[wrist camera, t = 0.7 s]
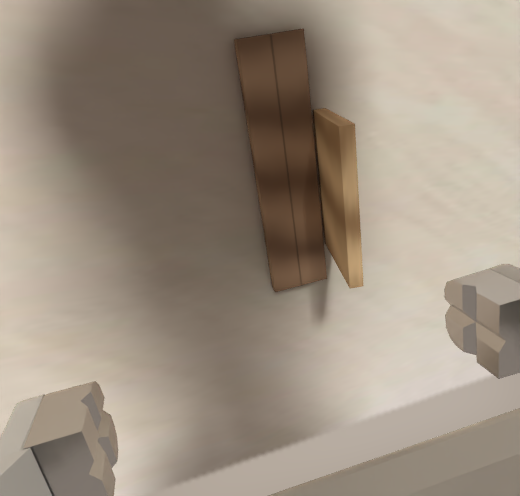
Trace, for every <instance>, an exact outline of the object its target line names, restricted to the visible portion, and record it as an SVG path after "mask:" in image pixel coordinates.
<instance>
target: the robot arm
mask: <svg viewBox="0 0 520 496" xmlns="http://www.w3.org/2000/svg"><path fill="white" fill-rule="evenodd" d="M444 292H445V300H446V301H447V302H448V303H449V304H450V307H449V309H448V311H447V313H446V315H445V319H446V329H447V331H448V333H449V336H450V338H451V340H452V341H453V342H454V344H455V345H456V346H457V347H458V348H459V349H461V350H462V351H463V352H466V353H470V354H474V355H476V358H477V363H479V364H480V365H481V366H483V367H484V368H485V369H486V370H488V371H489V372H490V373H492V374H493V375H494V376H496V377H497V378H498V379H500V378H503V377H506V376H510V375H513V374H517V373H520V268H517V267H515V266H513V265H510V264H501V265H498V266H495V267H492V268H489V269H486V270H483V271H480V272H476V273H473V274H470V275H467V276H464V277H460V278H457V279H454V280H451V281H448V282H447V283H446V286H445V289H444ZM103 405H104V395H103V393H102V390H101V388H100V385H99V384H98V383H97V382H96V381H94V382H90V383H87V384H83V385H79V386H75V387H71V388H68V389H64V390H60V391H56V392H53V393H49V394H46V395H40V396H37V397H34V398H30V399H27V400H24V401H21V402H19V403H17V404H16V406H15V408H14V410H13V412H12V414H11V416H10V418H9V420H8V422H7V425H6V427H5V429H4V431H3V433H2V435H1V437H0V496H114V489H115V480H116V479H115V476H114V473H113V471H112V467H113V466H114V465H115V464H116V462H117V459H118V442H117V434H116V430H115V426H114V423H113V420H112V417H111V415H110V414H108V413H106V412H105V411H103ZM269 496H520V408H518V409H515V410H513V411H510V412H507V413H504V414H501V415H498V416H496V417H493V418H490V419H487V420H484V421H481V422H478V423H476V424H473V425H470V426H467V427H464V428H461V429H458V430H456V431H453V432H450V433H447V434H444V435H441V436H438V437H435V438H432V439H430V440H427V441H424V442H421V443H418V444H415V445H412V446H410V447H407V448H404V449H401V450H398V451H395V452H392V453H389V454H386V455H384V456H381V457H378V458H375V459H372V460H369V461H367V462H363V463H361V464H358V465H355V466H352V467H349V468H346V469H344V470H341V471H338V472H335V473H332V474H329V475H326V476H324V477H320V478H318V479H315V480H312V481H309V482H307V483H304V484H300V485H298V486H295V487H292V488H289V489H286V490H283V491H280V492H278V493H275V494H272V495H269Z"/></svg>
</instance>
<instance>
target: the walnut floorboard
mask: <svg viewBox="0 0 520 496" xmlns="http://www.w3.org/2000/svg"><path fill="white" fill-rule="evenodd" d="M234 43H235V50H236V56H237V62H238V69H239V75H240V82H241V88H242V95H243V101H244V107H245V114H246V120H247V127H248V133H249V140H250V146H251V152H252V159H253V165H254V172H255V178H256V185H257V191H258V197H259V204H260V210H261V217H262V223H263V230H264V236H265V242H266V249H267V255H268V262H269V268H270V275H271V281H272V287H273V289H274V291H275V292H278V291H282V290H286V289H289V288H293V287H297V286H301V285H304V284H308V283H312V282H316V281H319V280H323V279H327V274H326V263H325V252H324V242H323V231H322V220H321V209H320V199H319V188H318V177H317V166H316V156H315V145H314V134H313V124H312V113H311V102H310V91H309V81H308V70H307V59H306V48H305V38H304V29H298V30H291V31H285V32H279V33H272V34H266V35H260V36H254V37H247V38H241V39H235V40H234Z"/></svg>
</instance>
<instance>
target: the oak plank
mask: <svg viewBox="0 0 520 496" xmlns="http://www.w3.org/2000/svg"><path fill="white" fill-rule="evenodd" d="M313 118H314V129H315V140H316V151H317V162H318V173H319V184H320V194H321V205H322V216H323V227H324V238H325V244H326V246H327V247H328V249H329V251H330V253H331V255H332V257H333V258H334V260H335V262H336V264H337V266H338V268H339V269H340V271H341V273H342V275H343V277H344V279H345V280H346V282H347V284H348V286H349V288H355V287H361V286H363V270H362V251H361V233H360V214H359V195H358V176H357V157H356V138H355V124H354V123H352V122H350V121H348V120H347V119H345V118H343V117H341V116H339V115H337V114H335V113H333V112H332V111H330V110H328V109H326V108H323V109H316V110H313Z"/></svg>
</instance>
